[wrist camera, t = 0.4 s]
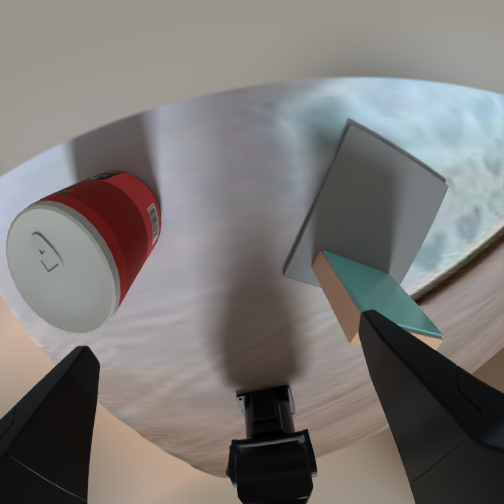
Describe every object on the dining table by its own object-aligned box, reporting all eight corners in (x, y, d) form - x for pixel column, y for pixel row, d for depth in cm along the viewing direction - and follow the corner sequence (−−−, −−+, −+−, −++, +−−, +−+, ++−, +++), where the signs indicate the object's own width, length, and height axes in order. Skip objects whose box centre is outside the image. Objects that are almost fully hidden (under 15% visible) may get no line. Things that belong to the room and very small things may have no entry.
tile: (379, 290, 26) (429, 357, 17) (311, 267, 25) (349, 343, 16) (389, 273, 26) (445, 336, 16) (321, 247, 24) (367, 317, 15)
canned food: (117, 150, 20) (35, 171, 10) (183, 217, 23) (147, 286, 13) (68, 214, 22) (-8, 268, 12) (128, 273, 25) (79, 355, 15)
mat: (384, 304, 28) (386, 307, 27) (282, 273, 25) (283, 276, 25) (445, 185, 23) (448, 186, 22) (348, 124, 20) (350, 124, 20)
